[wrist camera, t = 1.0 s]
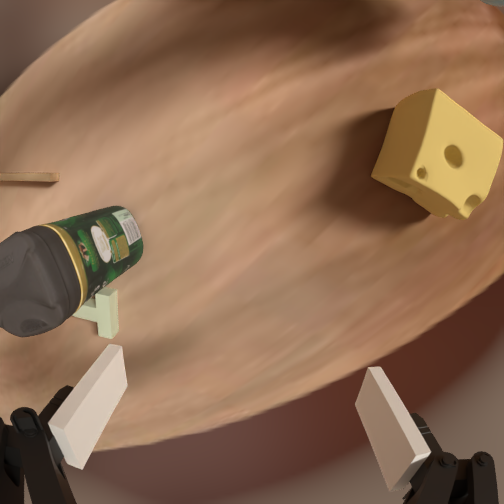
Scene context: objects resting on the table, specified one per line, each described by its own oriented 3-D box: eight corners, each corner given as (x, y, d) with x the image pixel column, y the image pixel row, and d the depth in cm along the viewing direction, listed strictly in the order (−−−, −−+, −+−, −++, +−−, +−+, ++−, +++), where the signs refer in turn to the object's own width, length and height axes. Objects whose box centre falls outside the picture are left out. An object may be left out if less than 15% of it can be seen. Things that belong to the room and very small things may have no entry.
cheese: (432, 215, 33) (481, 229, 23) (363, 176, 32) (403, 176, 22) (456, 144, 30) (506, 140, 21) (391, 100, 30) (434, 78, 20)
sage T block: (78, 281, 35) (69, 287, 33) (117, 289, 35) (109, 296, 33) (82, 321, 36) (73, 329, 34) (118, 330, 36) (111, 339, 34)
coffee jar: (93, 282, 35) (1, 353, 17) (70, 226, 33) (-38, 264, 15) (155, 259, 34) (71, 333, 16) (130, 196, 32) (22, 217, 14)
